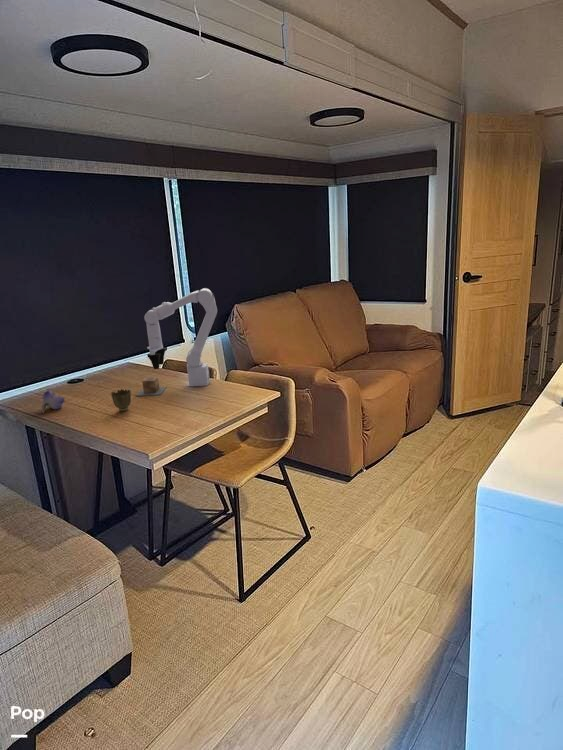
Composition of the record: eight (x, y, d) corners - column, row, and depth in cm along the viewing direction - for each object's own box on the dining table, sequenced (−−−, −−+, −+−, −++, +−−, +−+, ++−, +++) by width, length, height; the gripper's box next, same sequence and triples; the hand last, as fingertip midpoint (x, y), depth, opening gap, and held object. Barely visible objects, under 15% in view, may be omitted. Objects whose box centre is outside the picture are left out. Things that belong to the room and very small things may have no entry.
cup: (128, 406, 198) (125, 387, 196) (136, 409, 193) (133, 391, 191) (110, 411, 193) (107, 392, 191) (119, 415, 188) (116, 396, 186)
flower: (44, 400, 191) (54, 383, 198) (30, 407, 194) (41, 390, 202) (62, 414, 196) (71, 397, 203) (48, 421, 199) (58, 403, 207)
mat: (166, 387, 220) (166, 386, 220) (160, 395, 210) (160, 394, 210) (143, 388, 221) (143, 387, 220) (135, 396, 210) (135, 395, 210)
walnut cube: (159, 388, 218) (157, 376, 216) (156, 392, 212) (154, 380, 211) (147, 389, 218) (145, 377, 216) (144, 393, 213) (142, 381, 211)
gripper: (150, 334, 221) (154, 362, 225) (141, 341, 207) (145, 371, 211) (165, 333, 221) (169, 361, 225) (157, 340, 207) (161, 370, 211)
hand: (158, 366), depth 218 cm, fingers open, 7 cm apart
